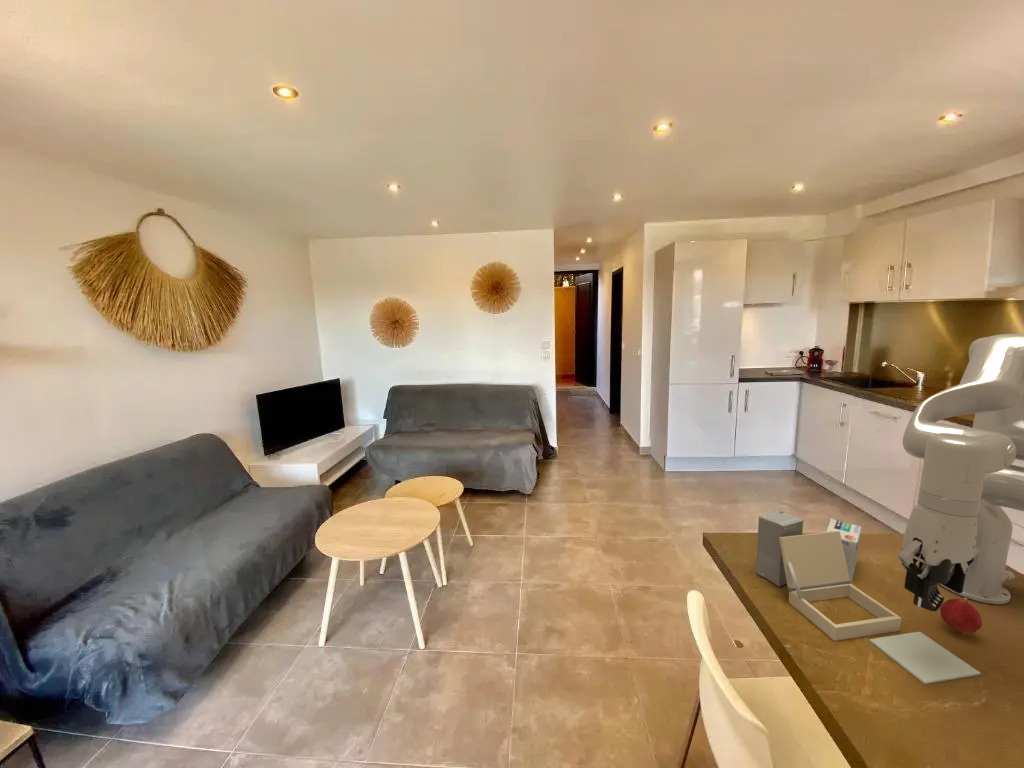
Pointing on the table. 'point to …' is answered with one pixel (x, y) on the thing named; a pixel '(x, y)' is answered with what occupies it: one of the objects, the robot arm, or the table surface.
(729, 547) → the table surface
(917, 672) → the mat
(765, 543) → the skincare box
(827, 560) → the case
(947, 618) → the red fruit
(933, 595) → the battery charger
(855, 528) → the light bulb box
